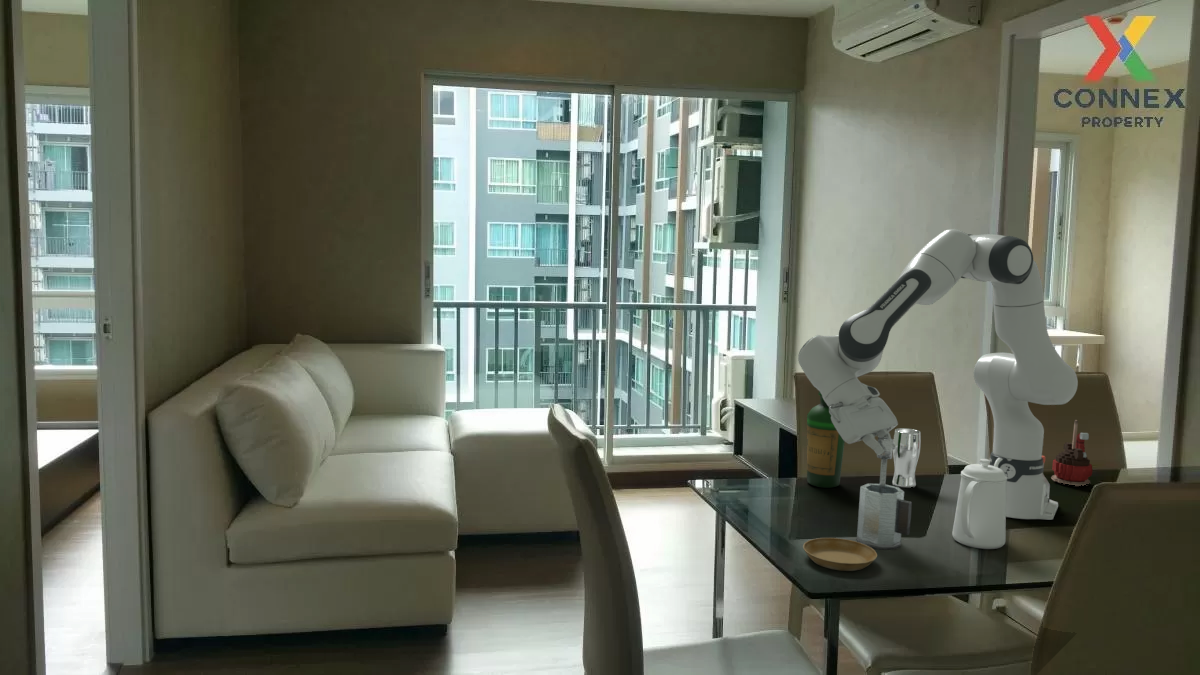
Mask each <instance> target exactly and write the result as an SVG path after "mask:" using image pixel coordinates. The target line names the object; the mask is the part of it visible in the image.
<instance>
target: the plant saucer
mask: <svg viewBox="0 0 1200 675" xmlns="http://www.w3.org/2000/svg"><path fill="white" fill-rule="evenodd" d="M802 549H803V550H804V552H805V554H807V557H808V558H810V560H811V561H813V562H814V563H815V564H816V565H819V566H820V567H824V568H827V569H830V570H835V571H842V572H843V571H844V572H845V571H846V572H853V571H860V570H863V569H865V568H866V567H868V566H869V565H871V564H872V563H874V561H875V560H876V559H877V557H878V553H877V552H876V550H875V549H874V548H871V547H869V546H867V545H865V544H862V543H859V542H857V540H856V541H855V540H850V539H845V538H838V537H818V538H813V539H810V540H806V541H805V542H804V543H803V545H802Z"/></svg>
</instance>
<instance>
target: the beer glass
mask: <svg viewBox="0 0 1200 675" xmlns="http://www.w3.org/2000/svg"><path fill="white" fill-rule="evenodd" d="M893 443H894V445H895V446H896V448H895V449H894V450H893V453H892V457H893V462H894V463H893V464H894V465H893V466H894V473H893V478H892V482H891V483H892V486H895V487H899V488H904V489H905V488H906V489H910V488H911V487H913V488H915V487H916V485H917V483H916V469H917V464H918V460H919V457H920V453H921V431H920V430H917V429H915V428H913V429H912V428H905V427H904V428H903V427H902V428H896V429H894V435H893ZM911 489H912V488H911Z"/></svg>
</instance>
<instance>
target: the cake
mask: <svg viewBox="0 0 1200 675" xmlns="http://www.w3.org/2000/svg"><path fill="white" fill-rule="evenodd" d="M1078 425H1079V420H1077V419H1074V424H1073V433H1072V442H1064V444H1063V451H1061V452H1059V453H1058V454H1056V456H1055V459H1053V460H1052V468H1051V469H1052V471H1053V473H1054V474H1053V475H1051V477H1050V478H1051V480H1052V481H1053V482H1057V483H1059V484H1061V483H1063V484H1062V485H1065V484H1069V485H1075V486H1074V487H1079V486H1080V487H1082V486H1084V485H1086V484H1089V483H1090V484H1091V480H1089V478H1090V477H1092V475H1093V465H1092V464H1091V463H1090V459H1089V458H1088V456H1087V452H1086V451H1085V449H1086V447H1085V441H1088V440H1089V439H1090V438H1089V436H1090V435H1089V433H1088V432H1080V433H1078V427H1079V426H1078ZM1069 485H1068V486H1069ZM1081 485H1082V486H1081ZM1086 486H1087V485H1086Z"/></svg>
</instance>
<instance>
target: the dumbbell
mask: <svg viewBox="0 0 1200 675" xmlns="http://www.w3.org/2000/svg"><path fill="white" fill-rule="evenodd" d="M877 441H878V442H879V443H880V444H883V446H884V447H885V448H886V452H885V453H883V454H882V455H877V454H876V458H878V459H880V460H881V461H880V472H879V474H880V475H879V484H880V486H879V493H885V484H886V482H887V481H886V480H887V470H888V469H887V468H888V460H892V459H893V442H894V438H891V439H890V438H878V437H877Z"/></svg>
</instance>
